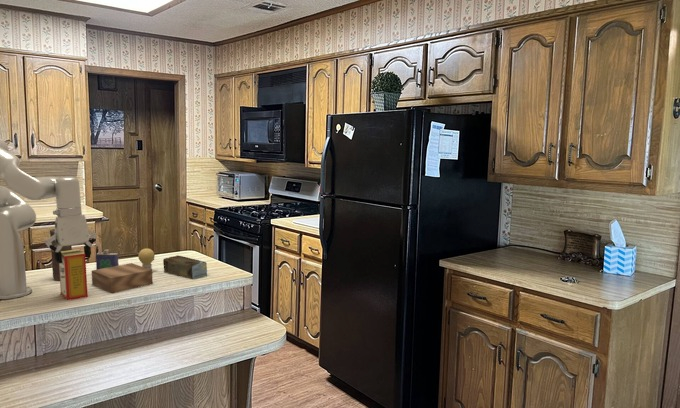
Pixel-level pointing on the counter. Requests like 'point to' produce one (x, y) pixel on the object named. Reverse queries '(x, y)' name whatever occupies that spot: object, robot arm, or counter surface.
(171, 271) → the grey rectangular block
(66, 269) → the baking soda box
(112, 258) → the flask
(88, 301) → the counter surface
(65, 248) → the candle
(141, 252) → the light bulb
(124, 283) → the walnut riser block
